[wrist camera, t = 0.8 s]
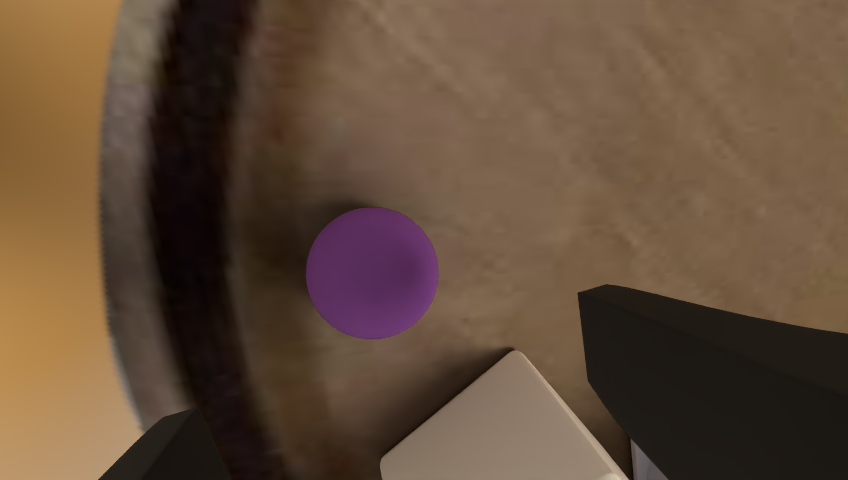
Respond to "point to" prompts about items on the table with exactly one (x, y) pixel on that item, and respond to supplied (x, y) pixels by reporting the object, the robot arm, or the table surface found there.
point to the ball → (372, 273)
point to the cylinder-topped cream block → (502, 434)
